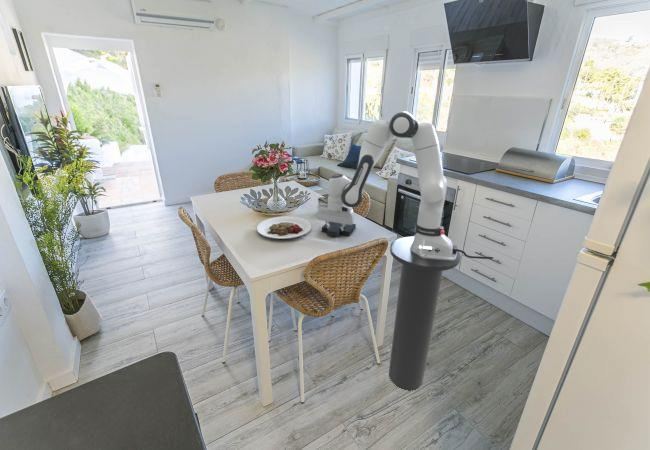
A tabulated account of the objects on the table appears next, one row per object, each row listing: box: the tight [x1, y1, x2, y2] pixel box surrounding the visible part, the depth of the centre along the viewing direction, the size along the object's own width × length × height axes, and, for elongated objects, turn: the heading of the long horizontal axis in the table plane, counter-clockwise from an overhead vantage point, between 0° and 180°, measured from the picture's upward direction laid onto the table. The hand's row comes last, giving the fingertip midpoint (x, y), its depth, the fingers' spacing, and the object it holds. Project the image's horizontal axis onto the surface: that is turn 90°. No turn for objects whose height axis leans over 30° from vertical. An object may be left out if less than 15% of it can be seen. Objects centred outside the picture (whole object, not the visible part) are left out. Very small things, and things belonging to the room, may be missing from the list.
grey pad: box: [326, 224, 342, 238], centre depth 170 cm, size 6×10×2 cm, turn 159°
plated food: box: [256, 215, 312, 240], centre depth 174 cm, size 30×30×3 cm
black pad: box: [321, 222, 357, 237], centre depth 176 cm, size 16×12×2 cm
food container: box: [317, 196, 328, 205], centre depth 198 cm, size 12×6×10 cm, turn 34°
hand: (335, 229), depth 170 cm, fingers closed on grey pad, 6 cm apart
